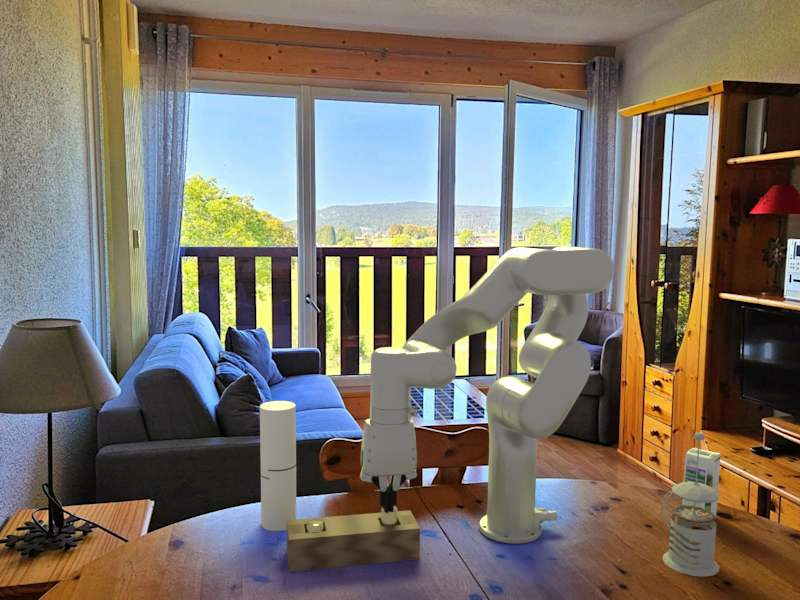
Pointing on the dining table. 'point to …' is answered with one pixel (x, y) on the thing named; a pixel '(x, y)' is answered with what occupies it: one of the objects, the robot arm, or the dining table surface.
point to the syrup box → (702, 474)
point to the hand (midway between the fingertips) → (387, 508)
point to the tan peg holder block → (352, 541)
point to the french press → (694, 554)
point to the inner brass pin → (389, 517)
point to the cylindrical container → (278, 464)
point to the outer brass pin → (314, 526)
